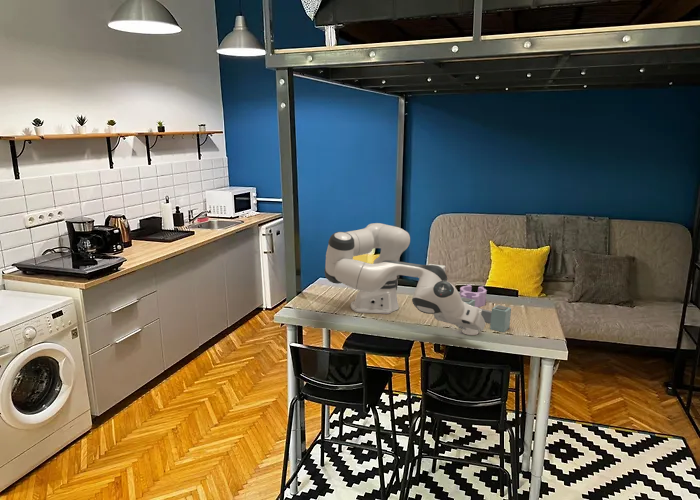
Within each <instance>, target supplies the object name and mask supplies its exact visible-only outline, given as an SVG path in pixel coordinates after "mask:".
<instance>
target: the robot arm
mask: <svg viewBox="0 0 700 500" xmlns="http://www.w3.org/2000/svg"><path fill="white" fill-rule="evenodd" d="M410 243H411V236H410V233H409V232H408V231H407V230H404V229H403V228H401V227H400V226H399V227H398V226H395V225H389V224H385V223H380V222H375V223H372V222H371V223H369V224H368V225H366V227H364V228H361V229H357V230H356V229H355V230H349V231H336V232H334V233H332V234H331V235H330V237H329V239H328V245H327V249H326V252H325V267H324V277H325V278H326V280H327V281H328V282H331V284H332V283H333V284H337V285H338V284H343V285H345V286H348V287H350V288H352V289H355V290H357V291H358V292H357V293H356V295H355V300H353V301H351V302H350V308H351V310H352V311H353V312H355V313H359V314H360V313H362V314H363V313H364V314H387V315H388V314H391V313H393V312H395V311H397V310H399V302H398V296H397V295H398V294H397V290H398V287H399V285H398V284H399V283H398V278H397V277H398V276H403V277H404V276H406V277H411V278H418V281H417V285H416V288H415V289H414V292H413V295H412V298H411V302H412V305H413V306H414V308H416V309H417V310H418V311H420V313H423V314H428V315H433V317H434V319H435V320H436V321H438V322H439V321H440V322H443V323H446V324H450V325H455V326H456V327H458V329H460V330H462V329H463V330H466V328H470V329H474V330H478V331H479V332H483V331H484V328H485V327H486V322H485V321H484V319H483V317H482V315H481V314H480V313H478V312H479V309H478V308H479V307H478V308H476V307H473V306H471V305H469V304H467V303H465V302H464V301H462V299H461V297H460V291H458V289H457V287H455V286H454V284H452V283H451V282H450V281H448V276H447V273H446V270H445V271H444V270H443V269H442V268H441V267H439V266H436V265H437V264H436V265H428V264H419V263H411V262H405V261H399V260H400V257H401V255H402V254H403V253H404V252H405V251H406V250H407V249H408V247H409V246H410ZM374 249H380V254H379V255H378V257H376V258H375V259H374V261H373V262H372V263H369V262H365V261H362V260H359V259H358V260H357V259H354V257H357V256H362V255H367V254H370V253H371V252H372V251H373V250H374Z"/></svg>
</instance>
